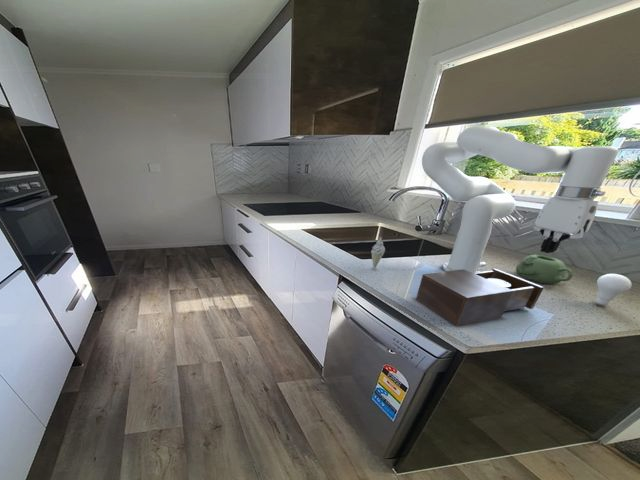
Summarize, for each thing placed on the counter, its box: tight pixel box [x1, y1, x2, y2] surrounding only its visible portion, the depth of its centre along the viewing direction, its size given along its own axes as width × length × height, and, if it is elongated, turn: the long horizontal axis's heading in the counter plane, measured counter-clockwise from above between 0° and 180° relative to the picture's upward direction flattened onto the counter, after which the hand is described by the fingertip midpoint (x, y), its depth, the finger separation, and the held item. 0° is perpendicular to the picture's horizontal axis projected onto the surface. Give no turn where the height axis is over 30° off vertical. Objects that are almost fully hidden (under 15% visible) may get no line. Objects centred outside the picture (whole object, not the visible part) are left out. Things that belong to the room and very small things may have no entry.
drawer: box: [474, 268, 545, 312], centre depth 79 cm, size 20×13×8 cm
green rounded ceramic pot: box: [515, 254, 574, 285], centre depth 93 cm, size 16×13×9 cm
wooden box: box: [415, 269, 513, 327], centre depth 76 cm, size 17×15×10 cm
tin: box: [488, 278, 511, 289], centre depth 79 cm, size 6×6×6 cm
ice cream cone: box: [370, 236, 386, 271], centre depth 102 cm, size 5×5×15 cm
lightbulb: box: [594, 273, 632, 306], centre depth 77 cm, size 6×6×11 cm
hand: (546, 251), depth 77 cm, fingers closed
